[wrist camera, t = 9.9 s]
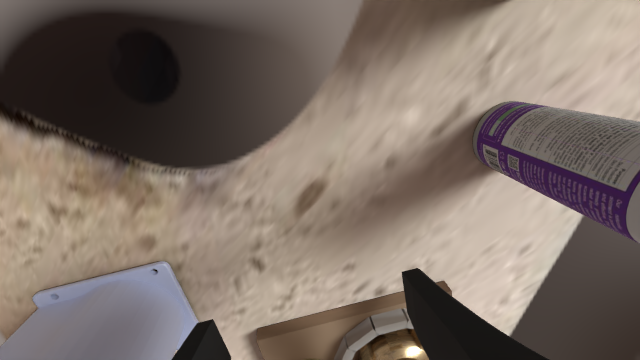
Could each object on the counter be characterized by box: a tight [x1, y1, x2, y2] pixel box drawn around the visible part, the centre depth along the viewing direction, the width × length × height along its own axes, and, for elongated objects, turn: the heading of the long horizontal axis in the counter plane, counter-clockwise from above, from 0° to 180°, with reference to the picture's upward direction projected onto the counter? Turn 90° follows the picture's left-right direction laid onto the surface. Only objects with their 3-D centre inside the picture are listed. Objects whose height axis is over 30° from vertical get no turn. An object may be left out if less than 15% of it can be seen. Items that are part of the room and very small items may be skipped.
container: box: [473, 101, 640, 244], centre depth 14 cm, size 5×5×15 cm
